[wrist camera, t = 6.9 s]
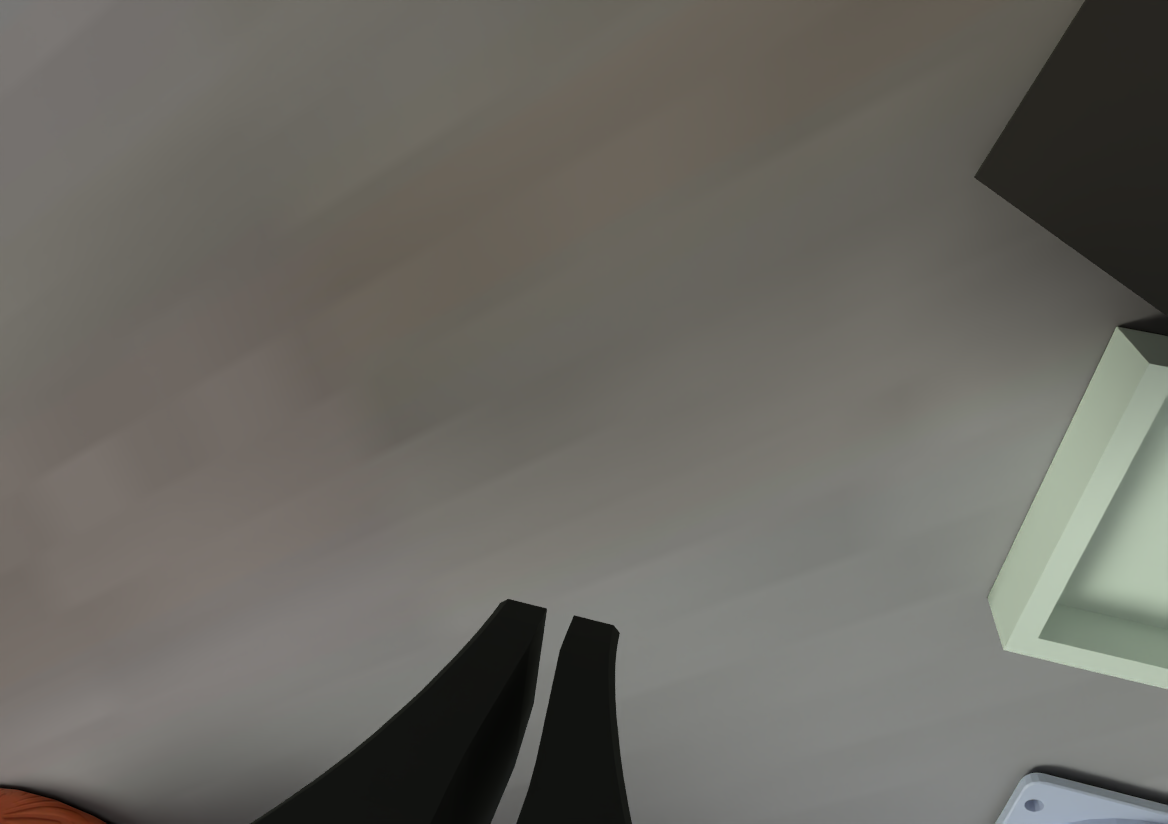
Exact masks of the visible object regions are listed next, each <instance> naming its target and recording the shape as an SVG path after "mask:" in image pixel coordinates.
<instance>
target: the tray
mask: <svg viewBox="0 0 1168 824" xmlns="http://www.w3.org/2000/svg"><path fill="white" fill-rule="evenodd" d="M988 601H989V605H990V608H991V611H992V614H993V618H994V621H995V624H996V627H997V631H998V634H999V637H1000V640H1001V644H1002V647H1003V650H1006V651H1010V652H1014V653H1018V654H1022V655H1027V656H1031V657H1035V658H1039V659H1043V660H1047V661H1052V662H1056V663H1060V664H1064V665H1068V666H1072V667H1077V668H1081V669H1085V670H1089V671H1093V672H1097V673H1102V674H1106V675H1110V676H1114V677H1118V678H1122V679H1127V680H1131V681H1135V682H1139V683H1143V684H1147V685H1152V686H1156V687H1160V688H1164V689H1168V336H1164V335H1159V334H1153V333H1148V332H1143V331H1138V330H1132V329H1127V328H1122V327H1116V329H1115V331H1114V333H1113V335H1112V337H1111V339H1110V341H1109V344H1108V346H1107V348H1106V350H1105V352H1104V354H1103V356H1102V358H1101V360H1100V362H1099V365H1098V367H1097V369H1096V371H1095V373H1094V375H1093V377H1092V379H1091V381H1090V383H1089V386H1088V388H1087V390H1086V392H1085V394H1084V396H1083V398H1082V400H1081V402H1080V404H1079V407H1078V409H1077V411H1076V413H1075V415H1074V417H1073V419H1072V421H1071V423H1070V425H1069V428H1068V430H1067V432H1066V434H1065V436H1064V438H1063V440H1062V442H1061V444H1060V446H1059V449H1058V451H1057V453H1056V455H1055V457H1054V459H1053V461H1052V463H1051V465H1050V467H1049V470H1048V472H1047V474H1046V476H1045V478H1044V480H1043V482H1042V484H1041V486H1040V488H1039V490H1038V493H1037V495H1036V497H1035V499H1034V501H1033V503H1032V505H1031V507H1030V509H1029V511H1028V514H1027V516H1026V518H1025V520H1024V522H1023V524H1022V526H1021V528H1020V530H1019V532H1018V535H1017V537H1016V539H1015V541H1014V543H1013V545H1012V547H1011V549H1010V551H1009V553H1008V556H1007V558H1006V560H1005V562H1004V564H1003V566H1002V568H1001V570H1000V572H999V574H998V577H997V579H996V581H995V583H994V585H993V587H992V589H991V591H990V593H989V595H988Z"/></svg>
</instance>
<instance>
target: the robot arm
mask: <svg viewBox="0 0 1168 824" xmlns="http://www.w3.org/2000/svg"><path fill="white" fill-rule="evenodd" d="M546 612H547V609H546V608H542V607H538V606H534V605H530V604H526V603H522V602H518V601H514V600H510V599H507V600H505V601H503V602H501V603H500V604H499V606H498V607H497V608H496V610H495V611H494V612H493V614H492V615H491V616H490V617H489V619H488V620H487V621H486V622H485V623H484V625H483V626H482V627H481V628H480V629H479V631H478V632H477V633H476V634H475V635H474V636H473V637H472V639H471V640H470V641H469V642H468V643H467V644H466V645H465V646H464V647H463V648H462V650H461V651H460V652H459V653H458V654H457V655H456V656H455V657H454V658H453V659H452V660H451V661H450V662H449V663H448V664H447V665H446V666H445V667H444V668H443V669H442V670H441V671H440V672H439V673H438V674H437V675H436V676H435V677H434V678H433V679H432V681H431V682H430V683H429V684H428V685H427V686H426V687H425V688H424V689H423V690H422V691H420V692H419V693H418V694H417V695H416V696H415V697H414V698H413V699H412V700H411V701H410V702H409V703H408V704H406V705H405V706H404V707H403V708H402V709H401V710H400V711H399V712H398V713H396V714H395V715H394V716H393V717H392V718H391V719H390V720H389V721H387V722H386V723H385V724H384V725H383V726H382V727H381V728H380V729H379V730H377V731H376V732H375V733H374V734H373V735H372V736H370V737H369V738H368V739H367V740H366V741H364V742H363V743H362V744H361V745H359V746H358V747H357V748H356V749H355V750H353V751H352V752H351V753H350V754H348V755H347V756H346V757H345V758H343V759H342V760H341V761H339V762H338V763H337V764H335V765H334V766H333V767H331V768H330V769H329V770H327V771H326V772H325V773H324V774H322V775H321V776H319V777H318V778H317V779H315V780H314V781H313V782H311V783H310V784H308V785H307V786H305V787H304V788H302V789H301V790H300V791H298V792H297V793H295V794H294V795H292V796H291V797H290V798H288V799H287V800H285V801H284V802H282V803H281V804H280V805H278V806H277V807H275V808H274V809H272V810H271V811H269V812H268V813H266V814H264V815H263V816H261V817H260V818H258V819H257V820H255V821H254V822H252V823H250V824H490V823H491V821H492V819H493V816H494V814H495V812H496V809H497V807H498V805H499V802H500V800H501V797H502V795H503V793H504V790H505V788H506V786H507V783H508V781H509V778H510V776H511V774H512V771H513V769H514V766H515V763H516V760H517V756H518V753H519V750H520V747H521V744H522V740H523V737H524V734H525V730H526V727H527V724H528V720H529V717H530V714H531V711H532V707H533V704H534V697H535V690H536V683H537V676H538V669H539V662H540V654H541V647H542V640H543V633H544V626H545V619H546ZM619 634H620V633H619V632H618V630H617V629H616V628H615V626H614V625H610V624H606V623H602V622H598V621H594V620H590V619H586V618H582V617H578V616H574V617H573V619H572V622H571V624H570V626H569V629H568V631H567V634H566V636H565V639H564V641H563V644H562V646H561V649H560V652H559V657H558V662H557V666H556V671H555V676H554V680H553V685H552V690H551V694H550V699H549V704H548V708H547V713H546V718H545V722H544V727H543V732H542V736H541V741H540V746H539V750H538V755H537V760H536V764H535V767H534V771H533V775H532V779H531V782H530V786H529V789H528V792H527V795H526V798H525V801H524V804H523V807H522V809H521V812H520V815H519V818H518V821H517V824H632V822H631V817H630V812H629V807H628V801H627V795H626V789H625V783H624V777H623V770H622V763H621V756H620V747H619V737H618V727H617V718H616V702H615V662H616V651H617V644H618V639H619ZM1032 799H1035V800H1032ZM995 824H1168V805H1165V804H1161V803H1157V802H1153V801H1149V800H1145V799H1142V798H1138V797H1134V796H1130V795H1126V794H1122V793H1118V792H1114V791H1110V790H1106V789H1102V788H1099V787H1095V786H1091V785H1087V784H1083V783H1079V782H1075V781H1071V780H1067V779H1063V778H1059V777H1056V776H1052V775H1048V774H1044V773H1030V774H1028V775H1026V776H1024V777H1023V778H1022V779H1021V780H1020V782H1019V783H1018V785H1017V787H1016V788H1015V790H1014V792H1013V794H1012V795H1011V797H1010V799H1009V800H1008V802H1007V804H1006V806H1005V807H1004V809H1003V811H1002V813H1001V814H1000V816H999V818H998V819H997V821H996V823H995Z"/></svg>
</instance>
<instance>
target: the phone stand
mask: <svg viewBox="0 0 1168 824" xmlns="http://www.w3.org/2000/svg"><path fill="white" fill-rule="evenodd" d="M974 177H975V178H976V179H977V180H979V181H980V182H981V183H983V184H984V185H986V186H987V187H988V188H990V189H991V190H992V191H994V192H995V193H997V194H998V195H999V196H1001V197H1002V198H1004V199H1005V200H1006V201H1008V202H1009V203H1011V204H1012V205H1013V206H1015V207H1016V208H1018V209H1019V210H1020V211H1022V212H1023V213H1024V214H1026V215H1027V216H1029V217H1030V218H1031V219H1033V220H1034V221H1036V222H1037V223H1038V224H1040V225H1041V226H1043V227H1044V228H1045V229H1047V230H1048V231H1050V232H1051V233H1052V234H1054V235H1055V236H1056V237H1058V238H1059V239H1061V240H1062V241H1063V242H1065V243H1066V244H1068V245H1069V246H1070V247H1072V248H1073V249H1075V250H1076V251H1077V252H1079V253H1080V254H1082V255H1083V256H1084V257H1086V258H1087V259H1088V260H1090V261H1091V262H1093V263H1094V264H1095V265H1097V266H1098V267H1100V268H1101V269H1102V270H1104V271H1105V272H1107V273H1108V274H1109V275H1111V276H1112V277H1113V278H1115V279H1116V280H1118V281H1119V282H1120V283H1122V284H1123V285H1125V286H1126V287H1127V288H1129V289H1130V290H1132V291H1133V292H1134V293H1136V294H1137V295H1139V296H1140V297H1141V298H1143V299H1144V300H1145V301H1147V302H1148V303H1150V304H1151V305H1152V306H1154V307H1155V308H1157V309H1158V310H1159V311H1161V312H1162V313H1164V314H1165V315H1166V316H1168V0H1085V2H1084V3H1083V5H1082V6H1081V8H1080V10H1079V11H1078V13H1077V14H1076V16H1075V18H1074V19H1073V21H1072V22H1071V24H1070V25H1069V27H1068V29H1067V30H1066V32H1065V33H1064V35H1063V37H1062V38H1061V40H1060V41H1059V43H1058V45H1057V46H1056V48H1055V49H1054V51H1053V53H1052V54H1051V56H1050V57H1049V59H1048V60H1047V62H1046V64H1045V65H1044V67H1043V68H1042V70H1041V72H1040V73H1039V75H1038V76H1037V78H1036V80H1035V81H1034V83H1033V84H1032V86H1031V87H1030V89H1029V91H1028V92H1027V94H1026V95H1025V97H1024V99H1023V100H1022V102H1021V103H1020V105H1019V107H1018V108H1017V110H1016V111H1015V113H1014V114H1013V116H1012V118H1011V119H1010V121H1009V122H1008V124H1007V126H1006V127H1005V129H1004V130H1003V132H1002V134H1001V135H1000V137H999V138H998V140H997V141H996V143H995V145H994V146H993V148H992V149H991V151H990V153H989V154H988V156H987V157H986V159H985V161H984V162H983V164H982V165H981V167H980V168H979V170H978V172H977V173H976V175H975V176H974Z"/></svg>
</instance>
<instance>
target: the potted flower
mask: <svg viewBox="0 0 1168 824" xmlns="http://www.w3.org/2000/svg"><path fill="white" fill-rule="evenodd" d="M0 824H107V823H105V822H103V821H102V820H100V819H98V818H96V817H95V816H92V815H90V814H88V813H85V812H83V811H80V810H78V809H76V808H73V807H71V806H69V805H66V804H64V803H62V802H59V801H57V800H54V799H50V798H47V797H43V796H39V795H35V794H32V793H28V792H24V791H21V790H15V789H4V788H0Z"/></svg>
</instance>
